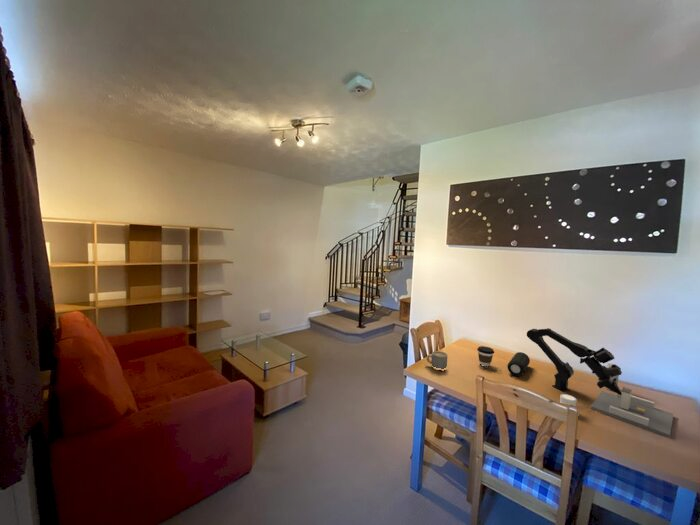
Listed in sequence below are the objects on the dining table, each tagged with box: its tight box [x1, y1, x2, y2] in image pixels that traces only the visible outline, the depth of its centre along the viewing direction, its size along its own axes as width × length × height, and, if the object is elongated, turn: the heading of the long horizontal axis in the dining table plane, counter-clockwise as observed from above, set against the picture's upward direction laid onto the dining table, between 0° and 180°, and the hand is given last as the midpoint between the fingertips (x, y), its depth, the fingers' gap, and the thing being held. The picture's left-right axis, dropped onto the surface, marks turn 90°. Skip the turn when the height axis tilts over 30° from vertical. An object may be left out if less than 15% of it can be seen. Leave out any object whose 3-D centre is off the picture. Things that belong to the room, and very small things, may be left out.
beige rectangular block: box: [620, 386, 633, 410], centre depth 150 cm, size 3×5×9 cm, turn 129°
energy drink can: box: [604, 362, 620, 392], centre depth 173 cm, size 6×6×15 cm
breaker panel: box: [590, 390, 674, 439], centre depth 149 cm, size 28×27×4 cm
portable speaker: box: [507, 351, 531, 377], centre depth 195 cm, size 26×10×10 cm, turn 140°
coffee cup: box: [477, 345, 495, 367], centre depth 202 cm, size 11×11×12 cm
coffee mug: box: [426, 350, 448, 369], centre depth 196 cm, size 13×10×10 cm
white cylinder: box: [559, 393, 577, 407], centre depth 149 cm, size 7×7×7 cm
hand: (621, 394), depth 152 cm, fingers closed
